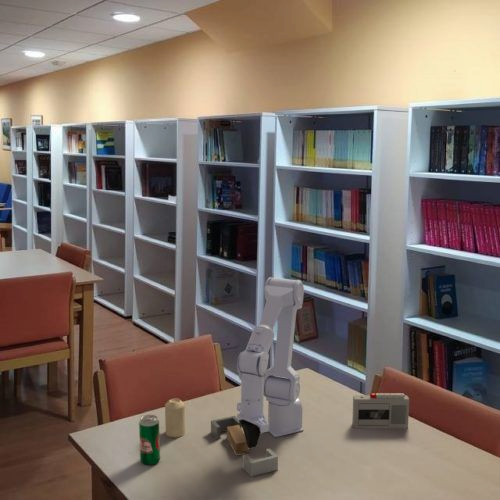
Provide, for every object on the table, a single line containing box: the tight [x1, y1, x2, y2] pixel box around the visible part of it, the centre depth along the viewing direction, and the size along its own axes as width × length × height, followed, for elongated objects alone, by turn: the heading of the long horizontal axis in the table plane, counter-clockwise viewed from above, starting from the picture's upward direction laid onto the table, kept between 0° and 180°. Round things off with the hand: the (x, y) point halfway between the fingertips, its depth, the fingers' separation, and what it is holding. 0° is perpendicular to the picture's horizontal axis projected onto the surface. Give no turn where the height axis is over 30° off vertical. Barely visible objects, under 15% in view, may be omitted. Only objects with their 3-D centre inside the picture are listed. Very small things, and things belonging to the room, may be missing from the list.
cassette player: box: [351, 392, 410, 429], centre depth 175 cm, size 16×3×10 cm, turn 90°
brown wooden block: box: [226, 425, 250, 456], centre depth 164 cm, size 4×10×4 cm, turn 16°
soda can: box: [138, 414, 161, 467], centre depth 155 cm, size 5×5×12 cm
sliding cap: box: [242, 448, 279, 477], centre depth 152 cm, size 8×4×4 cm, turn 116°
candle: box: [164, 397, 186, 438], centre depth 171 cm, size 6×6×10 cm
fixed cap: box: [210, 415, 242, 440], centre depth 171 cm, size 8×4×4 cm, turn 116°
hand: (252, 446), depth 156 cm, fingers closed
